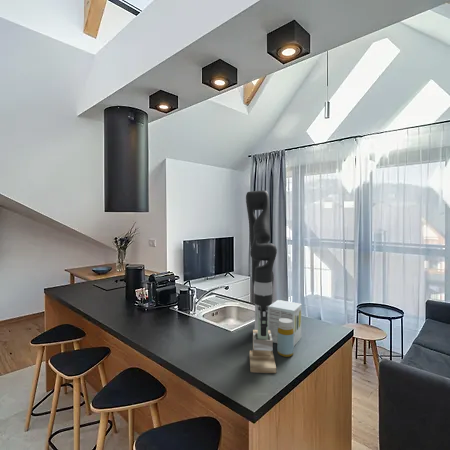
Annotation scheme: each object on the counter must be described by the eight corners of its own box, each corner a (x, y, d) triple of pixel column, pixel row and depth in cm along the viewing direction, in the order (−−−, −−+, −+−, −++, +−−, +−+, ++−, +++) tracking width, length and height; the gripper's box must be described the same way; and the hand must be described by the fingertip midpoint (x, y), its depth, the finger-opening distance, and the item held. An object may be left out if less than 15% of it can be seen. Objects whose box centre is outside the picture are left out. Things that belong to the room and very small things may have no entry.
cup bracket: (249, 355, 126) (249, 328, 126) (272, 355, 126) (272, 328, 125) (250, 372, 112) (250, 341, 112) (276, 373, 112) (276, 342, 111)
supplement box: (293, 347, 133) (294, 310, 133) (267, 341, 140) (267, 306, 140) (301, 337, 145) (302, 303, 144) (277, 332, 152) (277, 299, 151)
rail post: (257, 341, 119) (257, 312, 119) (267, 341, 119) (267, 313, 119) (257, 345, 115) (258, 316, 115) (267, 346, 115) (268, 316, 115)
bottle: (274, 353, 128) (274, 320, 127) (283, 348, 133) (283, 316, 132) (287, 359, 123) (288, 324, 122) (296, 353, 128) (296, 320, 127)
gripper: (253, 287, 124) (252, 324, 124) (254, 296, 110) (254, 338, 110) (270, 287, 123) (270, 325, 124) (274, 297, 109) (273, 339, 110)
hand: (262, 331), depth 117 cm, fingers open, 8 cm apart
